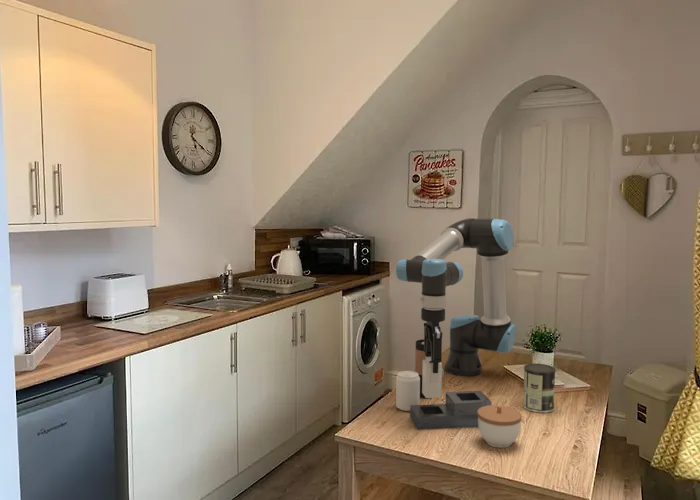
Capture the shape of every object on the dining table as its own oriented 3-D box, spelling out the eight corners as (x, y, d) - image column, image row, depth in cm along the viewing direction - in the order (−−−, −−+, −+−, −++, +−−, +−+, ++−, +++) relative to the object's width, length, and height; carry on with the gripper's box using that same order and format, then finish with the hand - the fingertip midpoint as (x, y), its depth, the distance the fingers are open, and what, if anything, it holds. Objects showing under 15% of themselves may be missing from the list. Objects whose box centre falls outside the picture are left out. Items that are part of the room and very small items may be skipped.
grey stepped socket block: (410, 416, 183) (410, 393, 183) (480, 413, 186) (480, 390, 185) (417, 429, 173) (417, 405, 173) (490, 425, 176) (491, 401, 175)
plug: (422, 392, 180) (422, 359, 179) (440, 391, 181) (440, 359, 180) (425, 398, 175) (426, 364, 174) (444, 397, 176) (445, 363, 175)
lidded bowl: (468, 442, 165) (469, 406, 164) (491, 429, 173) (491, 395, 172) (506, 456, 156) (507, 418, 155) (528, 442, 164) (529, 406, 163)
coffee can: (551, 402, 196) (553, 364, 194) (556, 414, 186) (557, 373, 184) (521, 400, 198) (522, 362, 196) (524, 411, 188) (525, 371, 186)
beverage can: (421, 404, 194) (421, 371, 193) (417, 413, 186) (418, 378, 185) (398, 402, 196) (398, 369, 195) (394, 410, 189) (394, 376, 187)
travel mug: (413, 397, 200) (414, 344, 198) (416, 390, 208) (416, 338, 206) (434, 399, 199) (435, 345, 197) (436, 392, 206) (437, 339, 204)
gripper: (415, 302, 184) (414, 371, 186) (428, 314, 166) (427, 389, 168) (437, 302, 185) (435, 370, 187) (453, 313, 167) (451, 388, 169)
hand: (431, 379), depth 177 cm, fingers closed on plug, 5 cm apart
